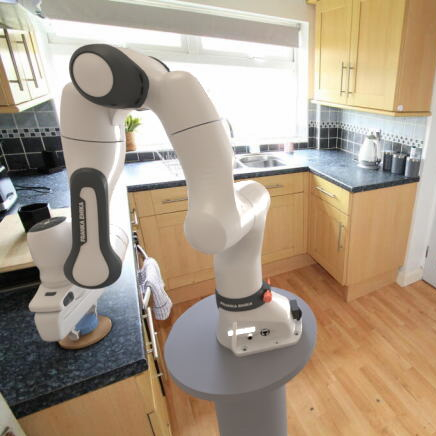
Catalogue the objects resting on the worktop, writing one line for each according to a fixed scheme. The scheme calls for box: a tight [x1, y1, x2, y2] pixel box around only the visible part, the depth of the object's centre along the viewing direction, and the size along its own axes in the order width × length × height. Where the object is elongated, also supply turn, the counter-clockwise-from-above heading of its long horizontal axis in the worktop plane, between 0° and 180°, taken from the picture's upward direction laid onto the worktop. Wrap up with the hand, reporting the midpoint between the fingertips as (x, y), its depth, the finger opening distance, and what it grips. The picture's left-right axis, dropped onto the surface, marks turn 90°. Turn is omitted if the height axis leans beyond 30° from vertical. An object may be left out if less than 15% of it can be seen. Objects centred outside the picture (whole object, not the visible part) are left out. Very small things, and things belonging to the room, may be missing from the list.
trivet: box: [58, 315, 113, 350], centre depth 82 cm, size 11×11×1 cm
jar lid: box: [74, 313, 99, 335], centre depth 81 cm, size 6×6×2 cm
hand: (84, 327), depth 81 cm, fingers closed on jar lid, 6 cm apart
